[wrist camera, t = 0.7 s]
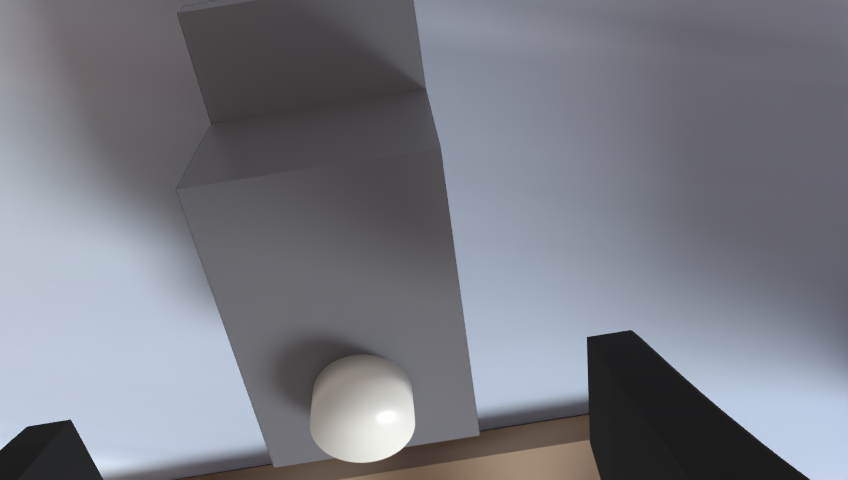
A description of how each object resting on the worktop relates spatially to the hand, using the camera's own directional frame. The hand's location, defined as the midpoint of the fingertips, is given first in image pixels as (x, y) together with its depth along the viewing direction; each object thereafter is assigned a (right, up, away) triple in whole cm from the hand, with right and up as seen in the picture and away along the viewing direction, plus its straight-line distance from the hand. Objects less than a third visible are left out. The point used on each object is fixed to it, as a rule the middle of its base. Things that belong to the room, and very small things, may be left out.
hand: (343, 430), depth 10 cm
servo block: (-1, +4, +7) cm, 8 cm away
